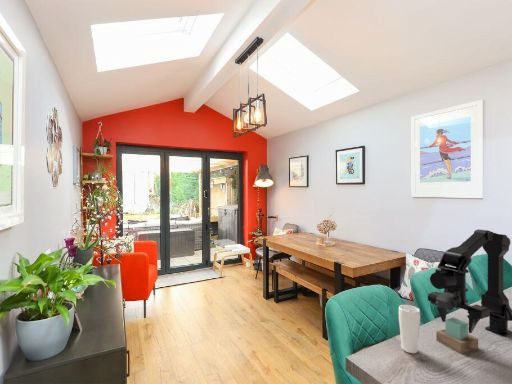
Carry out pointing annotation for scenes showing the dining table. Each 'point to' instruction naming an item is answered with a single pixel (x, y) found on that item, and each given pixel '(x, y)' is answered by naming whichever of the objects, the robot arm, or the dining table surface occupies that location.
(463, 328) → the teal cube
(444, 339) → the walnut block
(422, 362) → the dining table surface
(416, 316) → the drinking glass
